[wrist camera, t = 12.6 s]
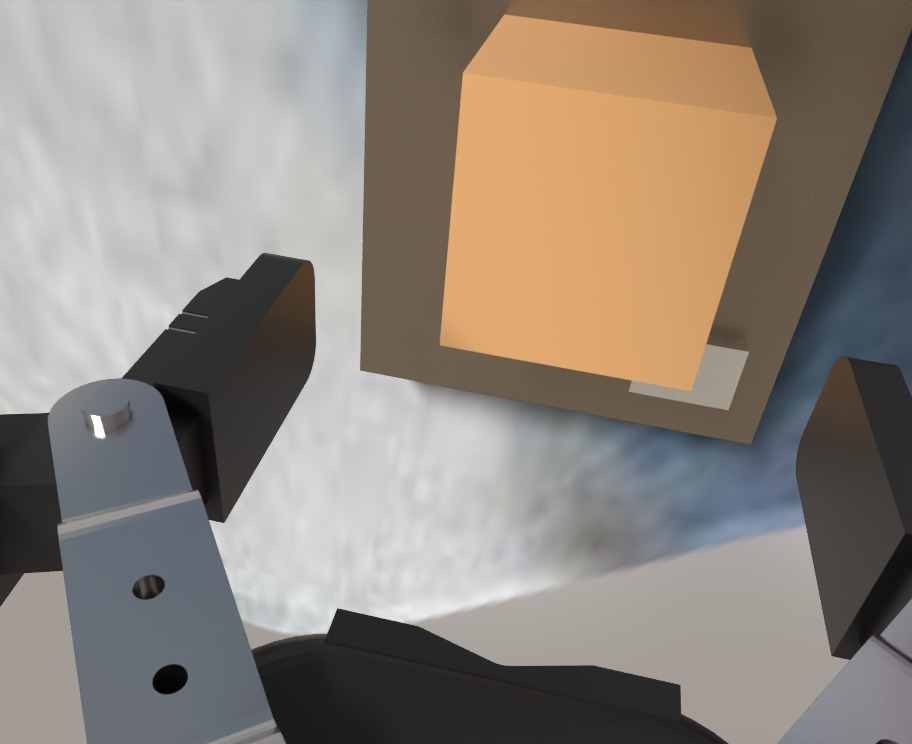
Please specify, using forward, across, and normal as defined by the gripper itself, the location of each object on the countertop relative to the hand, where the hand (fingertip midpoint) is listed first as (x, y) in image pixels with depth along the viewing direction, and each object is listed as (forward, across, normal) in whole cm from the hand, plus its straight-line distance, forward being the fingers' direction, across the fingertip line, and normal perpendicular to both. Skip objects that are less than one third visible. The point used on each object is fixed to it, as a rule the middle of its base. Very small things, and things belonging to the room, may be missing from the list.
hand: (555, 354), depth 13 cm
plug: (+12, 0, 0) cm, 12 cm away
